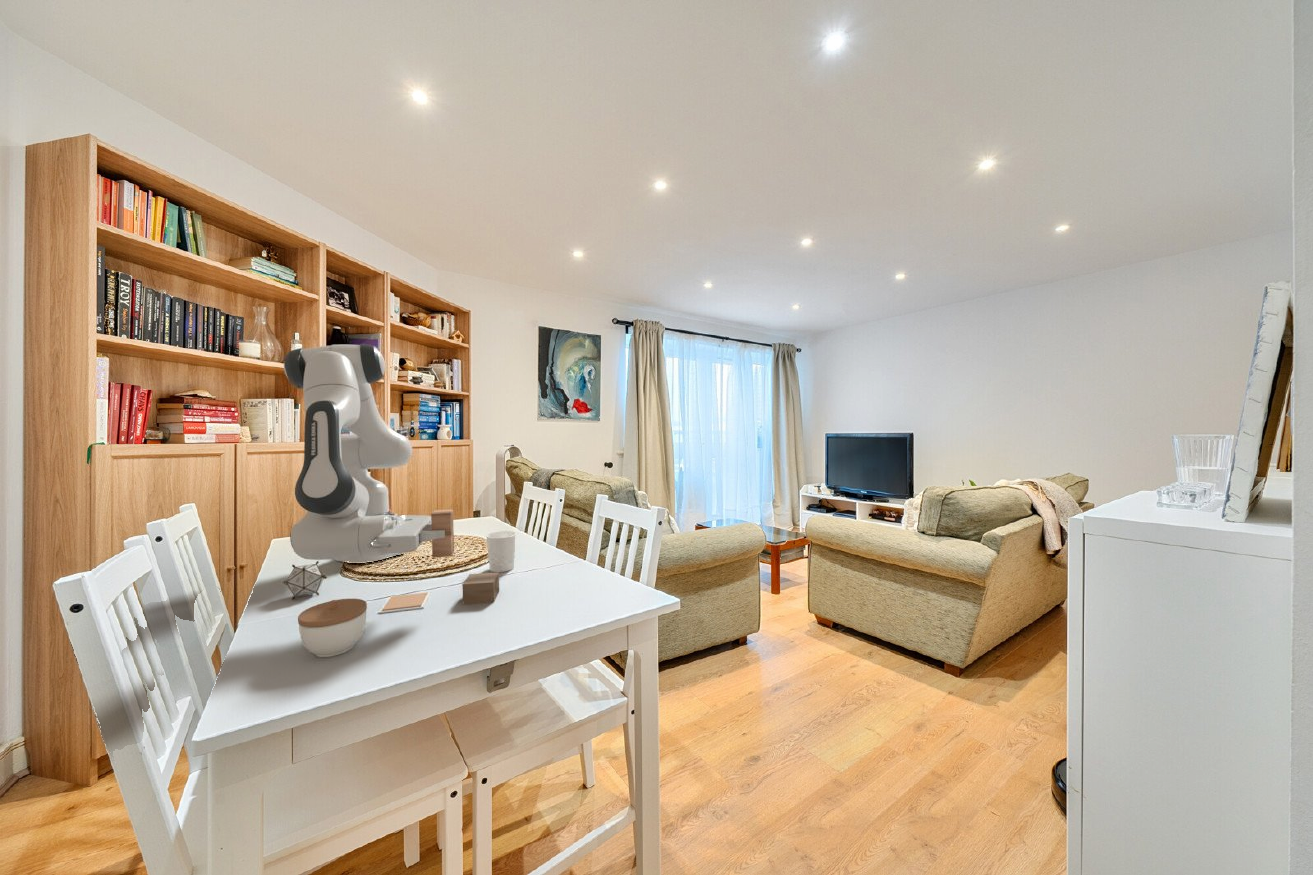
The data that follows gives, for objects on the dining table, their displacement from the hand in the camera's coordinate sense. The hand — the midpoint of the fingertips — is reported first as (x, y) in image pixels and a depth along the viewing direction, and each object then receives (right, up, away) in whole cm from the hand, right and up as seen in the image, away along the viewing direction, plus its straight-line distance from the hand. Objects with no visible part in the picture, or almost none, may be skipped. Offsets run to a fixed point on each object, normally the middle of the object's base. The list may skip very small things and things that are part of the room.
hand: (447, 530), depth 107 cm
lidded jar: (-13, -19, -19) cm, 30 cm away
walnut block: (+6, -18, +6) cm, 19 cm away
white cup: (+4, -17, +27) cm, 32 cm away
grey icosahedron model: (-39, -18, +8) cm, 44 cm away
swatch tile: (-11, -18, +3) cm, 21 cm away
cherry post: (-1, -6, 0) cm, 6 cm away
